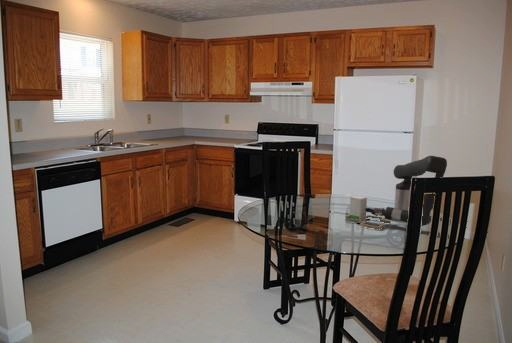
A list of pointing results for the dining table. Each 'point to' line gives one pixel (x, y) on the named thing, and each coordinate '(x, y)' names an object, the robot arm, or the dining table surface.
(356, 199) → the skincare box
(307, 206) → the dining table surface
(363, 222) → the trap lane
